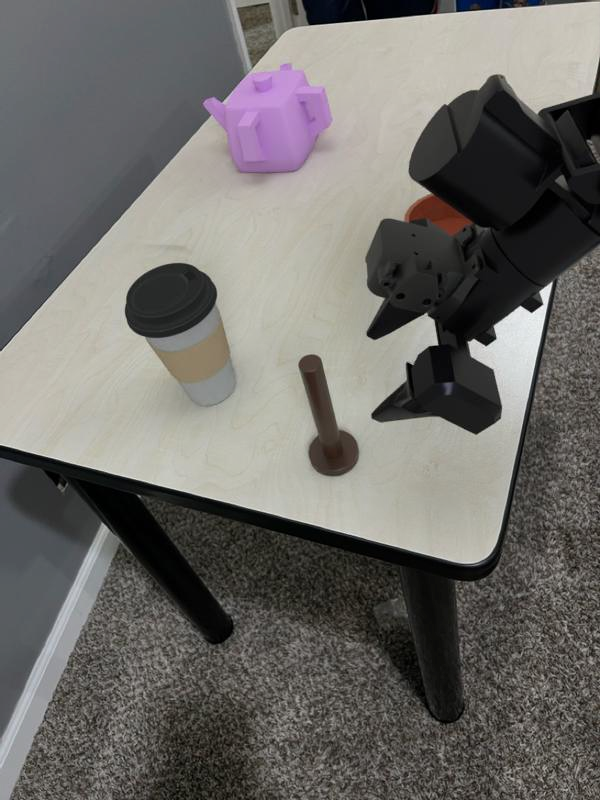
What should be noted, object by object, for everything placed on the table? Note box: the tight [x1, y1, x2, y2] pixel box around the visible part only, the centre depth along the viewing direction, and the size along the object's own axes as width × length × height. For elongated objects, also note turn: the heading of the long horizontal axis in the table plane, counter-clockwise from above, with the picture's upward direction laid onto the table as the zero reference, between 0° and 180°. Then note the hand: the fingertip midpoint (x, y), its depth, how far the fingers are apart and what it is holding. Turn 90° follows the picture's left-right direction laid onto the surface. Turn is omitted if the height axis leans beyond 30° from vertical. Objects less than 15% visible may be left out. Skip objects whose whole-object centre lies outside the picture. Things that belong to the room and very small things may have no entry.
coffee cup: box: [124, 262, 237, 407], centre depth 64 cm, size 9×9×15 cm
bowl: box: [403, 192, 485, 236], centre depth 75 cm, size 11×11×4 cm
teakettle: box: [202, 62, 334, 173], centre depth 96 cm, size 17×17×12 cm
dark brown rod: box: [297, 353, 360, 477], centre depth 55 cm, size 5×5×14 cm
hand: (372, 375), depth 51 cm, fingers open, 9 cm apart
